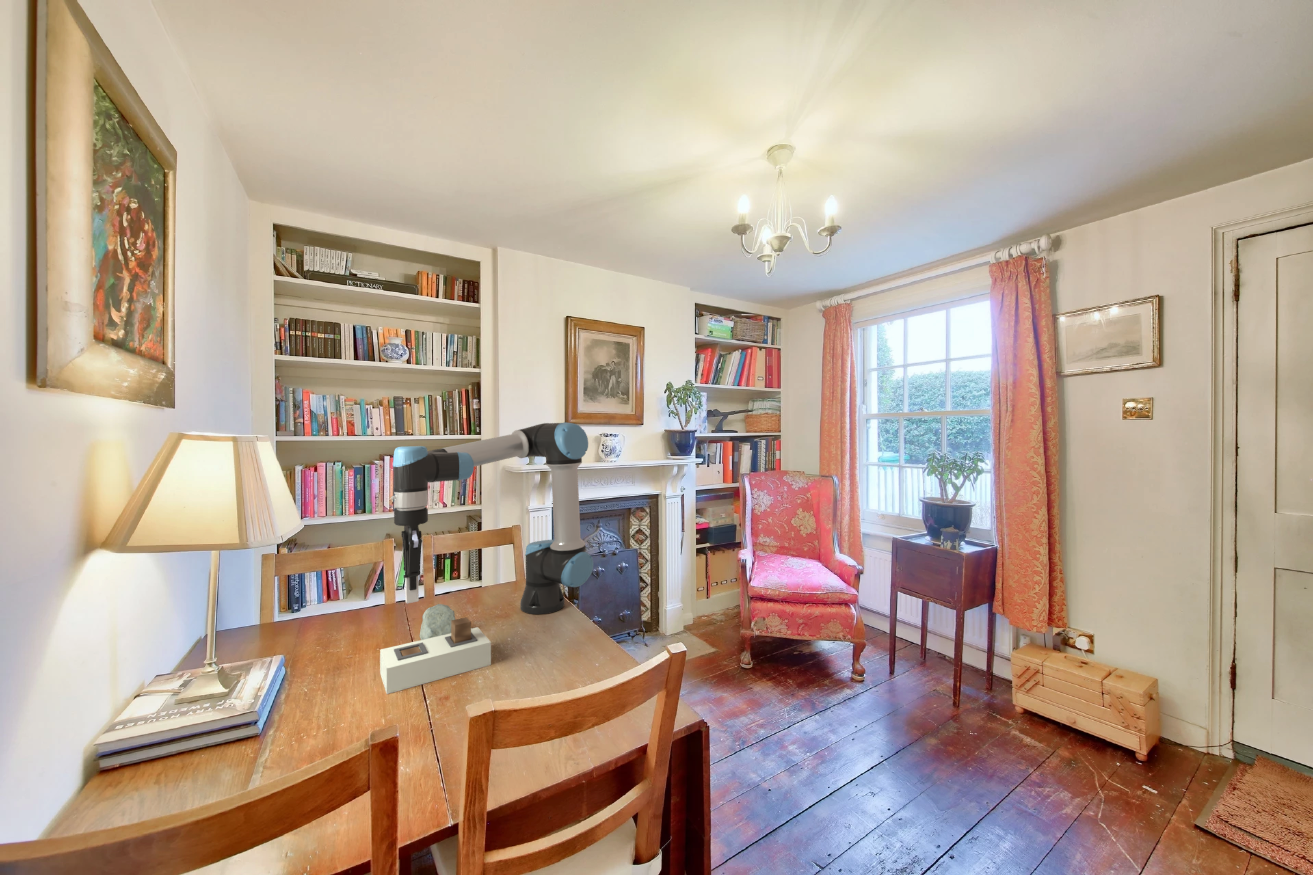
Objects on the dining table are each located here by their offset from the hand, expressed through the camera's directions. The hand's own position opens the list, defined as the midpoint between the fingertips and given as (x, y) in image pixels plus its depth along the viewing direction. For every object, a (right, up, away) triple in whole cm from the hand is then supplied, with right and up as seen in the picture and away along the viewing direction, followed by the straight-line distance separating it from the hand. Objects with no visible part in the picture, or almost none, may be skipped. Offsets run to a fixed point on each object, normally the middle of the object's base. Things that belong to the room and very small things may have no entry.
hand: (412, 601), depth 119 cm
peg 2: (+9, -14, +7) cm, 18 cm away
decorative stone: (-3, -19, +20) cm, 28 cm away
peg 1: (0, -19, 0) cm, 19 cm away
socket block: (+5, -19, +3) cm, 19 cm away
